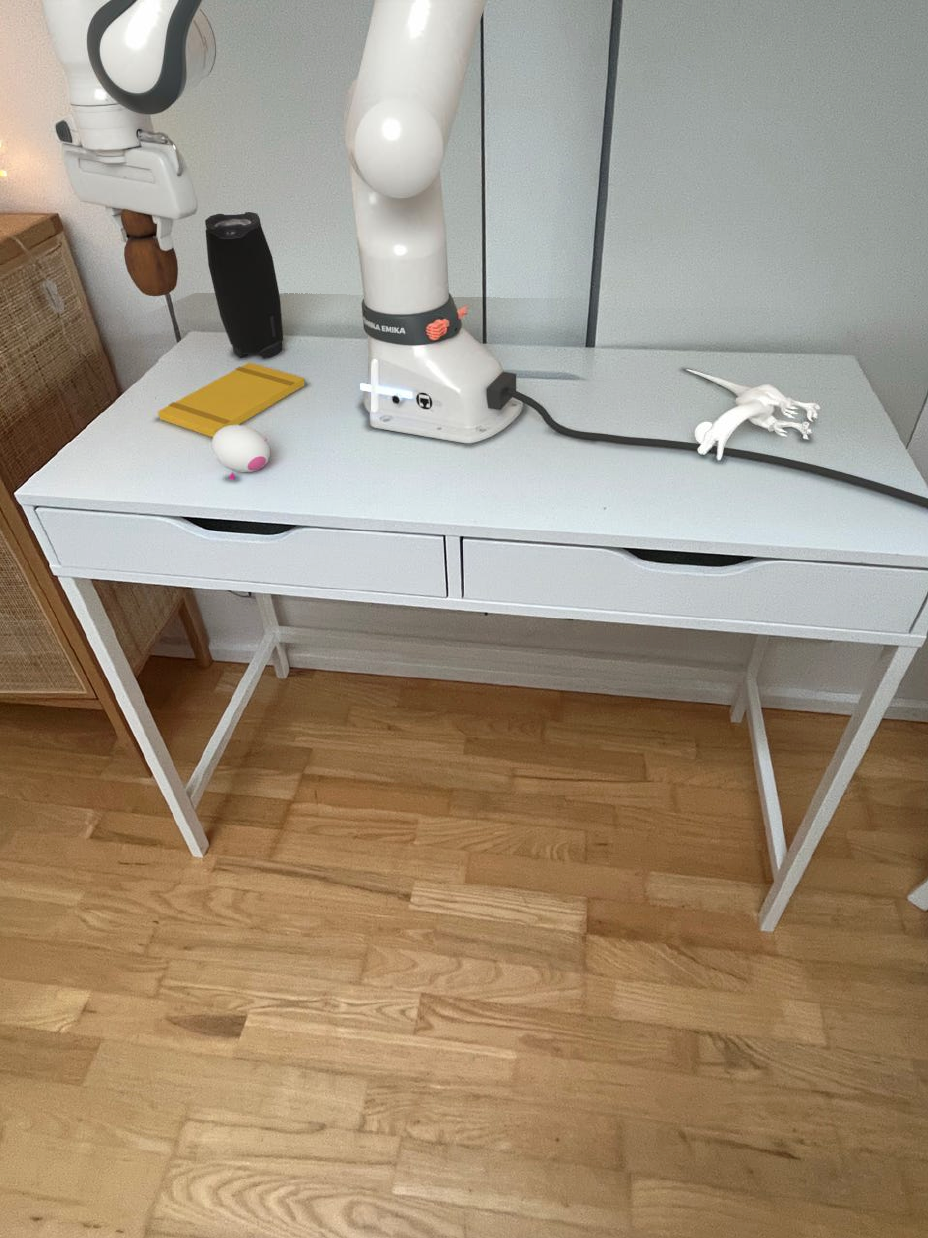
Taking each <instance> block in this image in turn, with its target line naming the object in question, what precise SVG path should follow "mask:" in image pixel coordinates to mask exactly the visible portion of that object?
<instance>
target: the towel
mask: <svg viewBox="0 0 928 1238" xmlns="http://www.w3.org/2000/svg"><path fill="white" fill-rule="evenodd" d="M304 378H305V377H302V376H300V375H299V376H298V375H295V374H292V373H288V372H285V371H281V370H278V369H275V368H271V367H267V366H263V365H259V364H256V363H252V362H247V363H246V364H244V365H242V366H238V367H236V368H234V370H232V371H231V372H229V373H227V374H225V375H223V376H221V377H219V378H218V379H215V380H214V381H212V382H210V383H208V384H206V385H204V386H202V387H200V388H199V389H197V390H195V391H193V392H192V393H189V394H187V395H186V396H184V397H182V398H180V399H178V400H176V401H173V402H171V403H169V404H168V405H167V406H166V407H164V408H162V409H160V410H158V411H157V414H158V418H159V420H161V421H163V422H166V423H169V424H173V425H174V426H175V425H176V426H177V427H182V428H184V429H188V430H190V431H192V432H196V433H199V434H202V435H204V436H207V437H210V438H213V437H214V435H215V433H216V432H217V431H218V430H220V429H221V428H223V427H225V426H229V425H242V423H244V422H246V421H248V420H249V419H251V418H253V417H254V416H256V415H257V414H259V413H261V412H262V411H264V410H266V409H268V408H269V407H271V406H273V405H274V404H276V403H277V402H279V401H281V400H283V399H284V398H286V397H288V396H289V395H291V394H293V393H294V392H297V391H298V390H299V389H301V388H303V387H304V386H306V383H305V379H304Z"/></svg>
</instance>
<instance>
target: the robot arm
mask: <svg viewBox="0 0 928 1238" xmlns="http://www.w3.org/2000/svg"><path fill="white" fill-rule="evenodd" d="M40 1H41V7H42V13H43V17H44V20H45V25H46V30H47V33H48V36H49V40H50V44H51V47H52V51H53V55H54V57H55V60H56V62H57V64H58V66H59V68H60V70H61V72H62V73H63V76H64V79H65V83H66V89H67V90H66V91H67V101H68V104H69V107H70V111H71V112H70V113H68V114H66V115H65V116H63V117H61V118H59V119H57V120H54V121H53V122H52V123H51V127H50V128H51V132H52V134H53V137H54V139H55V141H56V142H58V143H61V144H60V154H61V158H62V162H63V165H64V169H65V171H66V174H67V178H68V180H69V184H70V187H71V188H72V190H73V192H74V194H75V195H76V196H77V198H78V199H79V201H81V202H82V203H87V204H92V205H97V206H102V207H104V208H105V210H106V214H107V216H108V217H109V219H110V220H111V222H112V223H113V225H114V227H115V228H116V229H117V230H118V231H117V232H118V234H119V238H120V240H121V242H123V243H127V241H128V239H129V238H130V237H131V236H130V235H129V234H127V233H126V231H125V230H124V228H123V225H122V222H121V211H122V209H127V210H131V211H134V212H139V213H144V214H149V215H152V218H153V222H154V223H155V224H157V235H154V236H153V240H154V242H155V247H156V248H157V249H159V250H163V251H167V250H170V249H172V248H174V242H173V237H172V232H173V231H172V230H173V227H174V221H175V220H176V221H179V220H182V219H186V218H188V217H190V216H193V215H195V214H197V210H198V206H199V202H198V198H197V195H196V191H195V187H194V185H193V181H192V177H191V174H190V172H189V169H188V165H187V164H186V161H185V159H184V156H183V155H182V154H181V152H180V149H179V147H178V145H177V144H175V142H174V141H173V140H172V139H171V138H170V137H169V135H168V134H167V133H164V132H160V131H159V132H155V128H154V125H153V120H152V116H153V115H158V114H160V113H164V112H165V111H167V110H168V109H169V108H170V107H172V106H173V105H174V104H175V103H176V102H177V101H178V100H179V99H180V98H181V97H183V96H185V95H186V94H187V93H190V91H192V90H193V89H195V88H196V87H198V86H199V85H200V84H202V83H203V82H204V81H205V80H206V78H208V76H209V75H210V73H211V72H212V71H213V69H214V66H215V63H216V57H217V44H216V38H215V34H214V31H213V28H212V26H211V25H212V24H211V23H210V21H209V19H208V17H207V16H206V14H205V13H204V11H203V10H202V9H201V8H202V6H203V4H204V2H205V0H40ZM486 4H487V0H374V4H373V7H372V8H373V9H372V12H371V13H372V14H371V18H370V23H369V28H368V31H367V36H366V41H365V44H364V48H363V53H362V58H361V62H360V65H359V70H358V76H357V77H356V78H355V79H354V80H353V82H351V83H352V84H351V85H350V87H349V88H348V91H347V93H346V96H345V100H344V105H343V127H344V128H343V129H344V137H345V147H346V153H347V161H348V168H349V169H348V170H349V178H350V179H349V180H350V186H351V197H352V204H353V214H354V223H355V234H356V243H357V248H358V249H357V251H358V260H359V268H360V276H361V277H360V278H361V285H362V293H363V294H362V295H363V299H362V301H361V303H360V304H361V314H362V315H361V319H362V326H363V331H364V332H365V334H366V335H367V378H366V379H367V380H366V383H360V384H359V387H360V391H365V394H364V398H363V399H364V400H363V405H364V408H365V409H366V411H367V413H368V414H369V426H370V427H372V428H373V429H378V430H383V431H384V430H385V431H391V432H397V433H402V434H408V435H414V436H419V437H426V438H431V439H437V440H443V441H449V442H456V443H460V444H461V443H462V444H474V443H478V442H481V441H484V440H488V439H489V438H491V437H494V436H496V435H497V434H499V433H501V432H502V431H504V429H507V427H509V426H510V425H511V424H513V422H514V421H515V420H516V419H517V418H518V417H519V416H520V414H521V413H522V411H523V408H524V404H525V405H527V406H529V407H531V408H532V409H533V410H535V411H536V412H537V413H538V414H539V415H540V416H541V418H542V419H543V421H544V422H545V424H547V425H548V427H550V428H551V429H552V430H554V431H555V432H557V433H560V434H561V435H564V436H567V437H570V438H573V439H578V440H586V441H596V442H606V443H612V444H620V445H629V446H630V445H631V446H640V447H641V446H642V447H643V446H644V447H654V448H665V449H675V450H683V451H689V452H698V450H697V449H698V447H699V446H700V445H701V444H700V443H698V442H696V443H695V442H690V441H689V442H688V441H678V440H670V439H661V438H648V437H637V436H636V437H635V436H624V435H616V434H609V433H602V432H589V431H580V430H574V429H571V428H569V427H566V426H564V425H562V424H560V423H558V422H556V421H555V419H554V418H553V417H552V416H551V414H550V413H549V411H547V409H546V408H545V407H544V406H543V405H542V404H541V403H539V402H537V401H536V400H535V399H534V398H532V397H531V396H528V395H526V394H523V393H522V392H520V391H517V373H513V372H508V371H504V368H503V367H502V364H501V362H500V361H499V360H498V359H497V358H496V357H495V356H494V355H493V354H491V353H490V352H489V351H488V350H487V349H486V348H485V346H483V345H482V344H481V343H480V342H479V341H478V340H477V339H476V338H475V337H473V336H472V334H470V333H469V332H468V330H466V328H464V327H463V321H462V318H464V317H465V316H467V315H468V314H469V313H468V312H467V309H468V305H464V306H463V307H461V308H459V309H457V305H456V303H455V301H454V299H453V296H452V294H451V293H450V287H449V266H448V265H449V264H448V244H447V229H446V227H447V226H446V221H445V211H444V201H443V191H442V180H441V169H442V166H443V162H444V159H445V157H446V152H447V148H448V145H449V142H450V138H451V135H452V132H453V127H454V123H455V120H456V117H457V113H458V109H459V104H460V101H461V97H462V92H463V89H464V85H465V81H466V77H467V72H468V69H469V68H468V67H469V64H470V59H471V54H472V50H473V46H474V42H475V38H476V35H477V32H478V29H479V26H480V22H481V19H482V16H483V14H484V10H485V7H486ZM710 447H711V446H710ZM717 447H718V445H712V447H711V449H710V448H709V450H708V449H707V450H708V451H707V453H706V454H712V455H713V454H714V455H718V451H717ZM722 456H727V457H733V458H739V459H746V460H751V461H756V462H760V463H761V462H762V463H767V464H772V465H776V466H779V467H780V466H781V467H785V468H790V469H794V470H799V471H801V472H802V471H803V472H807V473H812V474H815V475H819V476H822V477H826V478H831V479H833V480H837V481H841V482H844V483H847V484H852V485H855V486H858V487H862V488H866V489H868V490H872V491H876V492H878V493H881V494H884V495H887V496H891V497H893V498H896V499H899V500H903V501H906V502H909V503H913V504H915V505H918V506H921V507H924V508H928V497H925V496H921V495H919V494H915V493H913V492H910V491H906V490H903V489H900V488H897V487H894V486H890V485H887V484H884V483H882V482H877V481H874V480H871V479H867V478H864V477H861V476H857V475H854V474H850V473H846V472H843V471H839V470H835V469H832V468H828V467H824V466H820V465H816V464H812V463H808V462H804V461H799V460H796V459H790V458H786V457H781V456H776V455H772V454H767V453H761V452H755V451H750V450H745V449H737V448H733V447H732V448H731V447H725V446H724V450H723V455H722Z"/></svg>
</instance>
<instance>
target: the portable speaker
mask: <svg viewBox="0 0 928 1238" xmlns="http://www.w3.org/2000/svg"><path fill="white" fill-rule="evenodd" d="M204 224H205V230H204V231H205V239H206V240H205V241H206V252H207V264H208V270H209V273H210V277H211V282H212V283H211V284H212V288H213V290H214V296H215V301H216V304H217V308H218V312H219V317H220V320H221V321H222V324H223V327H224V329H225V333H226V335H227V338H228V341H229V343H230V345H231V346H232V351H233V354H234V355H235V356H237V358H240V359H241V358H245V355H259V356H261V358H263V359H267V358H271V357H274V356H276V355H278V354H279V353H280V352H281V351H282V350H283V341H284V329H283V316H282V306H281V305H282V303H281V295H280V290H279V285H278V280H277V279H278V278H277V274H276V269H275V264H274V259H273V258H274V257H273V255H272V251H271V249H270V246H269V243H268V241H267V238H266V235H265V232H264V229H263V227H262V223H261V218H260V216H259V214H258V213H257V212H252V211H245V212H244V213H238V214H224V213H216V214H212V215H209V217H207V218H206V219H205V220H204Z"/></svg>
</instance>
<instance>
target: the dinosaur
mask: <svg viewBox="0 0 928 1238" xmlns="http://www.w3.org/2000/svg"><path fill="white" fill-rule="evenodd" d="M685 370H686V371H688V372H689V373H692V374H695V375H697V376H699V377H702V378H704V379H706V380H709V381H711V382H713V383H715V384H717V385H719V386H721V387H724V388H725V389H727V390H729V391H730V392H732V393H733V394H734V395H735V396H737V397H736V398H735V404H736V406H735V407H732V408H731V409H729V410H727V411H725V412H724V413H722V414H721V415H720V416H719V417H718V418H717V420H715V421H714V422H713V423H712V422H710V421H704V422H701V423H699V424H698V425H697V426H696V428H695V430H694V436H695V440H696V442H697V443H698V444H701V445H700V446H699V447H698V449H697V450H698V451H697V452H698V454H699V455H703V456H705V455H706V454H708V453H707V451H708V450H709V448H710V449H711V447H712V446H716V445H715V444H716V442H717V446H718V447H717V451H718V454H716V457H715V458H716V460H717V461H721V460H722V459H723V456H724V455H723V450H724V447H725V446H726V443H727V442H728V440H729V437H730V436H731V435H732V433H733V432H734V431H735V430H736V429H737V428H738V426H739V425H741V424H742V423H744V422H745V421H746V420H748V421H749V422H751V423H752V424H753V425H755V426H758V427H761V428H763V429H766V430H767V431H768V432H771V433H772V432H775V433H776V434H777V435H779V436H780V437H781V438H783V437H788V435H787V434H785V433H787V431H786V430H785V429H783V428H793V429H796V430H798V431H799V433H800V434H801V435H802V439H803V440H809V436H808V435H811V434H812V428H809V426H810V422H811V423H814V421H813V419H818V410H821V408H820V405H819V404H818V403H816V402H801V401H799V400H794V399H793V398H792V397H786V396H785V395H784V394H783V393H782V392H781V391H780V390H779V389H777V388H776V387H775V386H774V385H771V384H769V383H765V384H761V385H758V386H752V387H749V386H745V385H741V384H737V383H735V382H731V381H728V380H725V379H722V378H720V377H717V376H713V375H710V374H706V373H703V372H700V371H697V370H693V369H688V368H687V369H685ZM796 406H797V407H796ZM775 407H777V408H780V410H781V413H782V414H783V416H786V417H787V418H788V419H795V416H793V415H798V413H797V412H796V411H794V410H799V408H801V409H804V410H805V411H806V417H807V419H808V420H809V421H803V422H802V423H801V422H800V423H798V422H793V421H786V420H783V419H777V418H776V417H775V416H774V415H772V414H773V413H774V412H775ZM812 418H813V419H812ZM710 446H711V447H710ZM707 449H708V450H707Z"/></svg>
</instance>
